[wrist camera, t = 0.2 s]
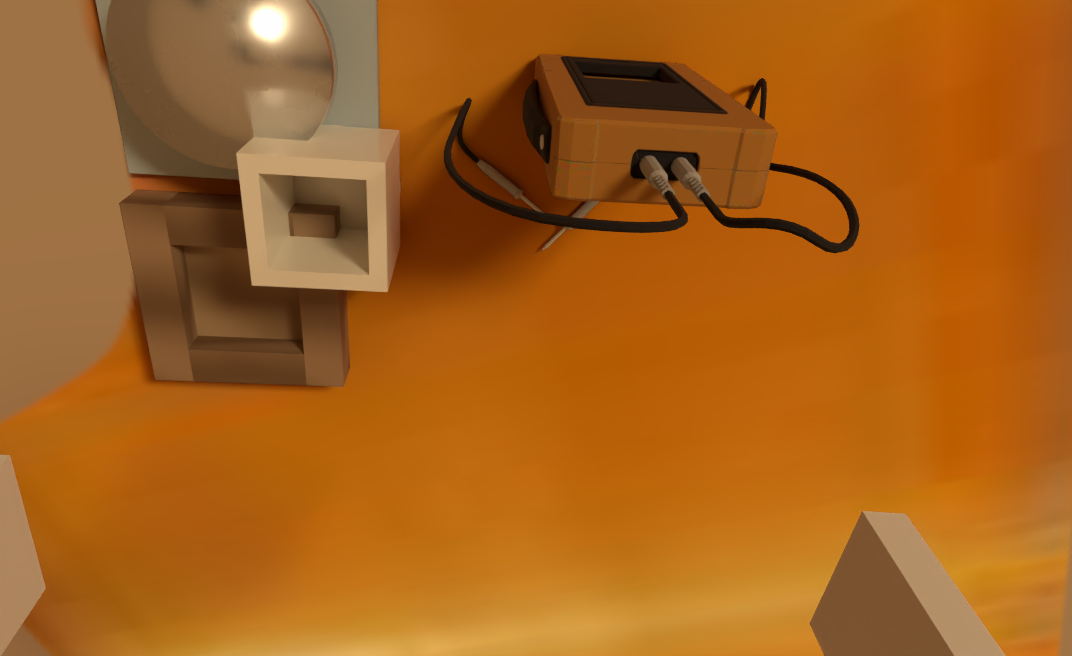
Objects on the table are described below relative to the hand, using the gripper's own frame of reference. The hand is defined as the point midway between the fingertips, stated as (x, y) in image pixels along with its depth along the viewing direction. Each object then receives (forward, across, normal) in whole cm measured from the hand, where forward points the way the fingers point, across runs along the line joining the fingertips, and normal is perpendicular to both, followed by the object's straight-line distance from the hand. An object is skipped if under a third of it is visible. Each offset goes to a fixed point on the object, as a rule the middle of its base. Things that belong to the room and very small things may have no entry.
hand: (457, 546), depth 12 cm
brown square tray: (+27, -11, -10) cm, 31 cm away
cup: (+27, -7, -4) cm, 28 cm away
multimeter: (+28, +6, -1) cm, 28 cm away
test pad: (+25, -11, +2) cm, 28 cm away
